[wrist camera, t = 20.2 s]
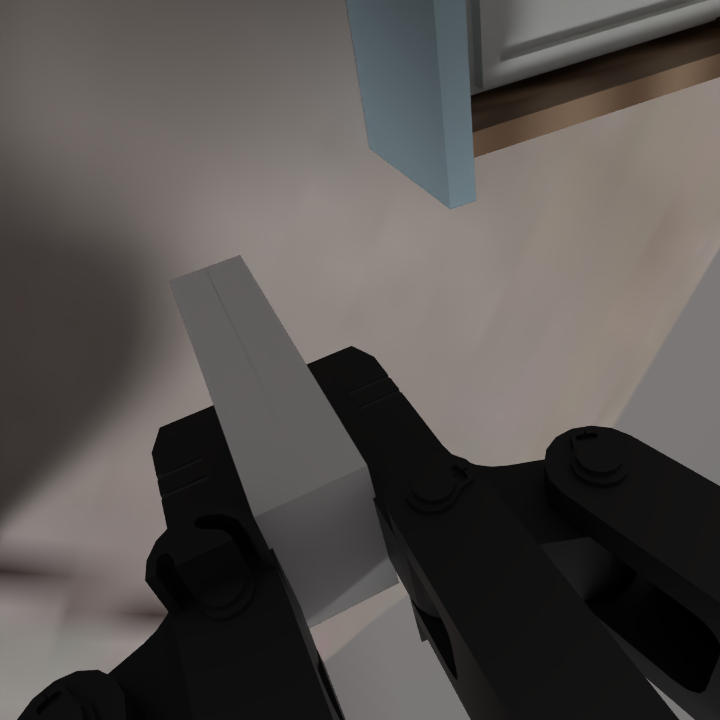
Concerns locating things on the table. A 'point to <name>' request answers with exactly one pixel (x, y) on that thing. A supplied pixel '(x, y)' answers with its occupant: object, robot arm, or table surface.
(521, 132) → the brown wooden frame
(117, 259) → the table surface
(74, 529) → the table surface
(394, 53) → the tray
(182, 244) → the table surface
